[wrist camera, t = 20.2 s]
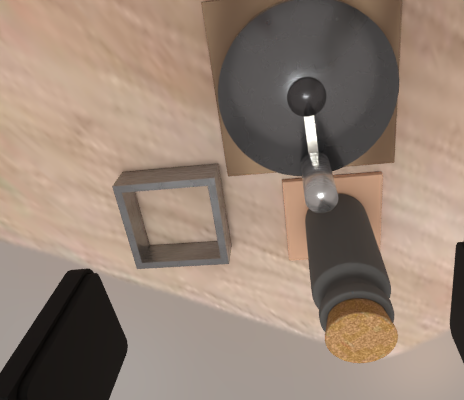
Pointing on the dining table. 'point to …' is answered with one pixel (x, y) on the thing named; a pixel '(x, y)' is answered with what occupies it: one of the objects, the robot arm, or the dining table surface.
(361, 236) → the bottle
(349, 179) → the pad
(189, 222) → the dining table surface
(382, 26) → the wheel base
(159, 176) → the collar
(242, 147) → the handwheel
